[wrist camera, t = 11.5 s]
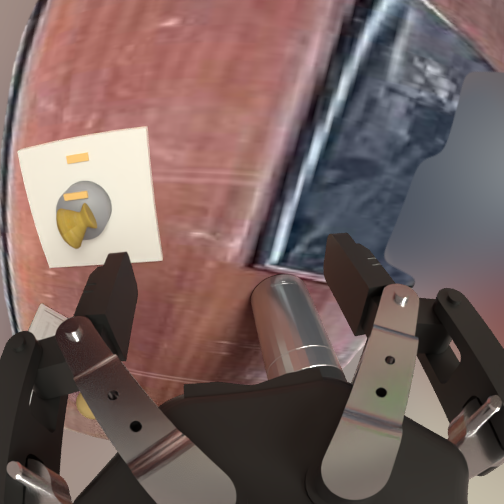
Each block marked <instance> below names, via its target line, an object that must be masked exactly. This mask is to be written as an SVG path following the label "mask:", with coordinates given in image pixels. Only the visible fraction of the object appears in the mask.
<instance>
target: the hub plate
mask: <svg viewBox="0 0 504 504" xmlns="http://www.w3.org/2000/svg"><path fill="white" fill-rule="evenodd" d="M18 156H19V161H20V166H21V171H22V176H23V180H24V185H25V189H26V193H27V197H28V201H29V205H30V208H31V212H32V215H33V219H34V222H35V226H36V229H37V232H38V235H39V238H40V241H41V244H42V247H43V250H44V253H45V256H46V259H47V262H48V264H49V267H50V268H55V267H71V266H87V265H103V264H104V263H105V260H106V258H107V256H108V254H109V253H117V252H127V253H128V255H129V258H130V261H131V263H135V262H150V261H162V259H163V254H162V248H161V242H160V235H159V228H158V221H157V214H156V206H155V198H154V190H153V181H152V172H151V162H150V151H149V139H148V126H145V127H136V128H128V129H121V130H114V131H107V132H101V133H94V134H89V135H83V136H78V137H72V138H67V139H62V140H58V141H53V142H48V143H44V144H40V145H36V146H31V147H27V148H24V149H21V150H19V151H18ZM84 203H86V204H87V205H88V206H89V208H90V209H91V211H92V213H93V215H94V217H95V219H96V222H97V228H96V229H94V228H90V227H87V229H86V232H85V235H84V238H83V240H82V243H81V247H80V248H78V249H75V248H73V247H71V246H70V245H68V244H67V243H66V242H65V241H64V240H63V238H62V237H61V235H60V233H59V230H58V228H57V222H56V214H57V211H58V210H59V209H61V208H62V209H66V210H72V211H76V212H80V211H81V208H82V205H83V204H84Z"/></svg>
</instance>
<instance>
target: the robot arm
mask: <svg viewBox="0 0 504 504" xmlns="http://www.w3.org/2000/svg"><path fill="white" fill-rule="evenodd" d="M324 276H325V280H326V282H327V284H328V285H329V287H330V289H331V291H332V293H333V295H334V297H335V299H336V301H337V302H338V304H339V306H340V308H341V310H342V312H343V314H344V316H345V318H346V320H347V322H348V324H349V326H350V328H351V330H352V332H353V334H354V335H355V336H359V335H364V334H366V336H367V340H366V343H365V346H364V349H363V352H362V355H361V358H360V361H359V364H358V366H357V369H356V372H355V374H354V377H353V380H352V382H351V383H349V382H347V380H346V378H345V375H344V373H343V370H342V368H341V366H340V363H339V361H338V358H337V356H336V354H335V351H334V349H333V347H332V344H331V342H330V340H329V337H328V335H327V333H326V330H325V328H324V326H323V323H322V321H321V319H320V316H319V314H318V312H317V309H316V307H315V305H314V302H313V300H312V298H311V296H310V293H309V291H308V289H307V287H306V284H305V283H304V282H303V281H302V280H301V279H300V278H298V277H296V276H293V275H288V274H281V275H275V276H272V277H269V278H267V279H266V280H264V281H262V282H261V283H260V284H259V285H258V286H257V287H256V288H255V289H254V291H253V293H252V296H251V305H252V310H253V315H254V319H255V324H256V329H257V333H258V338H259V343H260V347H261V352H262V356H263V361H264V365H265V370H266V374H267V378H268V381H265V382H262V383H260V384H257V385H242V384H232V383H223V382H210V383H198V384H184V394H183V395H179V396H177V397H174V398H172V399H170V400H168V401H166V402H165V403H163V404H162V405H160V406H159V407H157V405H156V404H155V403H154V402H153V401H152V400H151V398H150V397H149V396H148V395H147V394H146V392H145V391H144V390H143V389H142V388H141V386H140V385H139V384H138V383H137V381H136V380H135V379H134V378H133V376H132V375H131V374H130V372H129V371H128V370H127V368H126V367H125V366H124V364H123V363H122V362H121V361H126V359H127V353H128V347H129V341H130V335H131V329H132V323H133V318H134V313H135V308H136V303H137V297H138V290H137V283H136V280H135V276H134V273H133V269H132V265H131V261H130V258H129V255H128V253H127V252H117V253H109V254H108V256H107V258H106V260H105V263H104V265H103V266H101V267H97V268H96V269H95V270H94V271H93V272H92V273H91V275H90V276H89V279H88V281H87V283H86V286H85V288H84V291H83V292H84V293H82V296H81V298H80V301H79V303H78V306H77V308H76V311H75V314H74V316H73V317H71V318H68V319H67V320H65V321H64V322H62V323H61V324H60V325H59V327H58V328H57V330H56V334H55V335H54V336H51V337H48V338H45V339H41V340H38V341H37V339H36V338H35V336H34V335H33V333H31V332H29V331H22V332H19V333H17V334H15V335H13V336H12V337H11V338H10V339H9V340H8V342H7V343H6V346H5V348H4V350H3V353H2V356H1V359H0V504H468V501H467V495H468V482H469V479H471V478H473V477H474V476H476V475H477V476H484V475H486V474H488V473H490V472H491V471H493V470H494V469H496V468H497V467H499V466H500V465H502V464H503V463H504V349H503V347H502V346H501V344H500V343H499V342H498V340H497V339H496V337H495V336H494V334H493V333H492V331H491V330H490V329H489V327H488V326H487V324H486V323H485V322H484V320H483V319H482V318H481V316H480V315H479V314H478V312H477V311H476V310H475V308H474V307H473V306H472V304H471V303H470V302H469V301H468V299H467V298H466V297H465V296H464V295H463V294H462V293H461V292H459V291H457V290H454V289H450V288H444V289H442V290H440V291H439V292H438V294H437V297H436V299H426V298H419V297H418V295H417V293H416V292H415V291H414V290H413V289H411V288H410V287H408V286H405V285H402V284H396V283H395V282H394V281H393V279H392V278H391V277H390V276H389V274H388V273H387V272H386V270H385V269H384V268H383V267H382V265H380V263H379V261H378V260H377V259H375V256H374V255H373V254H372V253H371V251H370V250H369V249H367V248H366V247H364V246H363V245H361V244H356V243H355V242H354V240H353V239H352V238H351V236H350V235H349V234H348V233H337V234H329V236H328V238H327V245H326V252H325V260H324ZM452 340H453V341H454V343H455V345H456V346H457V348H458V349H459V351H460V354H461V362H459V361H458V359H457V357H456V356H455V354H454V352H453V351H452V349H451V347H450V346H449V344H450V342H451V341H452ZM416 355H417V357H418V359H419V361H420V363H421V365H422V367H423V369H424V371H425V373H426V375H427V376H428V378H429V380H430V383H431V385H432V387H433V389H434V391H435V393H436V395H437V397H438V399H439V401H440V403H441V405H442V407H443V409H444V412H445V414H446V416H447V418H448V421H449V423H450V425H449V427H448V436H449V438H448V439H445V438H443V437H441V436H440V435H438V434H436V433H434V432H433V431H431V430H429V429H427V428H425V427H424V426H422V425H420V424H418V423H416V422H415V421H413V420H412V419H410V418H408V417H406V416H405V415H404V414H405V410H406V405H407V401H408V397H409V392H410V387H411V382H412V377H413V372H414V367H415V360H416ZM32 390H33V393H32ZM78 391H80V393H81V394H82V396H83V398H84V400H85V401H86V403H87V405H88V407H89V408H90V410H91V412H92V413H93V415H94V417H95V418H96V420H97V421H98V423H99V425H100V426H101V428H102V429H103V431H104V432H105V434H106V435H107V437H108V438H109V440H110V441H111V443H112V444H113V446H114V447H115V448H116V450H117V451H118V452H117V453H116V454H115V456H114V457H113V458H112V459H111V460H110V461H109V462H108V464H107V465H106V466H105V467H104V468H103V469H102V470H101V471H100V472H99V474H98V475H97V476H96V477H95V478H94V479H93V480H92V482H91V483H90V484H89V485H88V486H87V487H86V488H85V489H84V490H83V492H81V493H80V495H79V496H78V497H77V498H76V499H75V501H74V503H72V501H71V496H70V493H69V488H68V485H67V483H66V481H65V480H64V479H63V478H62V477H61V476H60V459H61V447H62V437H63V428H64V420H65V413H66V406H67V400H68V394H70V393H74V392H78ZM31 394H32V397H31ZM30 398H31V401H30Z"/></svg>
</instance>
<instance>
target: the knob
mask: <svg viewBox="0 0 504 504" xmlns="http://www.w3.org/2000/svg"><path fill="white" fill-rule="evenodd" d="M56 222H57V228H58V230H59V233H60V235H61V237H62V238H63V240H64V241H65V242H66V243H67V244H68V245H70V246H71V247H73V248H75V249H78V248H80V247H81V243H82V240H83V238H84V235H85V232H86V229H87V227H90V228H94V229H96V228H97V222H96V219H95V217H94V215H93V213H92V211H91V209H90V208H89V206H88V205H87V204H86V203H84V204H83V205H82V208H81V211H80V212H76V211H72V210H66V209H62V208H61V209H59V210H58V211H57V214H56Z"/></svg>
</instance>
